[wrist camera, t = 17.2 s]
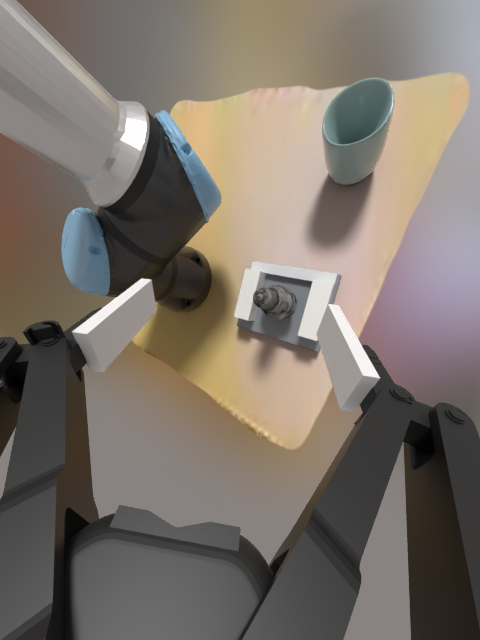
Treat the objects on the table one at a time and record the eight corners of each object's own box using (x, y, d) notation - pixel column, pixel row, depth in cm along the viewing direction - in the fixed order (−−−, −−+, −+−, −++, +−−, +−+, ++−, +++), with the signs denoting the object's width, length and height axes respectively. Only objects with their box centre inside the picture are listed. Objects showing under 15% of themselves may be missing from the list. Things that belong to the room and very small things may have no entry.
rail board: (239, 325, 42) (229, 326, 38) (255, 263, 41) (245, 257, 37) (319, 351, 35) (316, 354, 31) (341, 276, 34) (341, 270, 30)
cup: (380, 186, 32) (394, 132, 23) (326, 198, 35) (320, 155, 26) (381, 136, 32) (397, 63, 23) (327, 153, 35) (322, 95, 26)
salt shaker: (305, 297, 35) (288, 285, 24) (288, 326, 36) (264, 327, 26) (276, 282, 37) (250, 265, 27) (261, 309, 39) (230, 305, 28)
